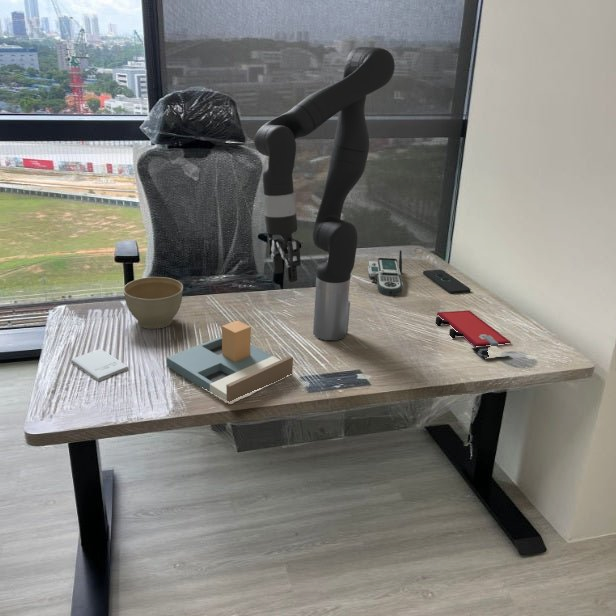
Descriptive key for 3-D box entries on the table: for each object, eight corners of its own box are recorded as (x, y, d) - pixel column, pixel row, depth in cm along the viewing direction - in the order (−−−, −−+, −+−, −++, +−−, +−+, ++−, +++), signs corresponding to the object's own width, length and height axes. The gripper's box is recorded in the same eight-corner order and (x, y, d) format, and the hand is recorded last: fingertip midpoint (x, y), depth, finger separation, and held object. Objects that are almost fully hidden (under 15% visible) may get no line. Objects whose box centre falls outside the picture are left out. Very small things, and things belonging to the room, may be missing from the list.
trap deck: (229, 341, 162) (229, 324, 160) (292, 375, 148) (293, 357, 146) (167, 366, 149) (166, 348, 147) (229, 405, 134) (229, 386, 132)
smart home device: (442, 268, 220) (472, 289, 203) (441, 273, 221) (471, 293, 204) (422, 270, 218) (450, 290, 201) (421, 274, 219) (449, 295, 201)
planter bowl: (114, 329, 166) (111, 293, 162) (145, 307, 180) (143, 273, 176) (166, 339, 162) (164, 302, 158) (194, 316, 176) (193, 281, 172)
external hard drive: (101, 353, 154) (128, 371, 147) (71, 364, 149) (98, 383, 141) (100, 348, 154) (128, 365, 146) (70, 358, 148) (97, 377, 141)
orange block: (237, 348, 154) (237, 320, 150) (250, 355, 151) (250, 326, 147) (222, 354, 150) (221, 325, 147) (235, 361, 147) (235, 332, 144)
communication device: (369, 296, 198) (372, 271, 194) (366, 270, 219) (368, 247, 216) (406, 298, 197) (409, 273, 194) (399, 272, 219) (401, 249, 215)
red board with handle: (477, 362, 158) (525, 358, 162) (479, 353, 157) (527, 349, 161) (425, 317, 185) (468, 314, 189) (426, 308, 183) (470, 306, 188)
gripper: (307, 214, 138) (311, 281, 144) (282, 205, 150) (287, 267, 156) (277, 219, 135) (283, 287, 141) (254, 210, 147) (260, 272, 153)
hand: (285, 277), depth 148 cm, fingers open, 8 cm apart
